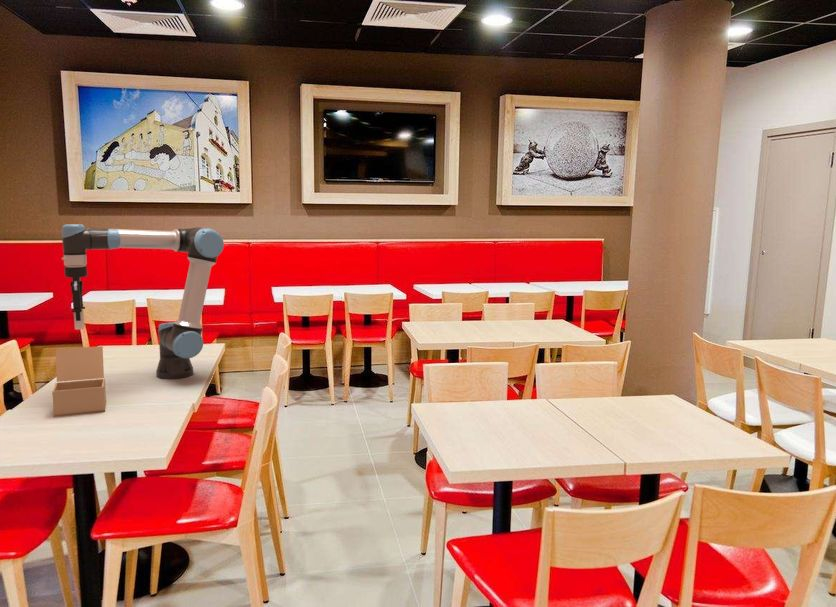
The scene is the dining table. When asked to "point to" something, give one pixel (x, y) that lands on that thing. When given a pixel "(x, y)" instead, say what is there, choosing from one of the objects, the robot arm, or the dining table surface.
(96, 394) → the carton
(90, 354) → the lid
